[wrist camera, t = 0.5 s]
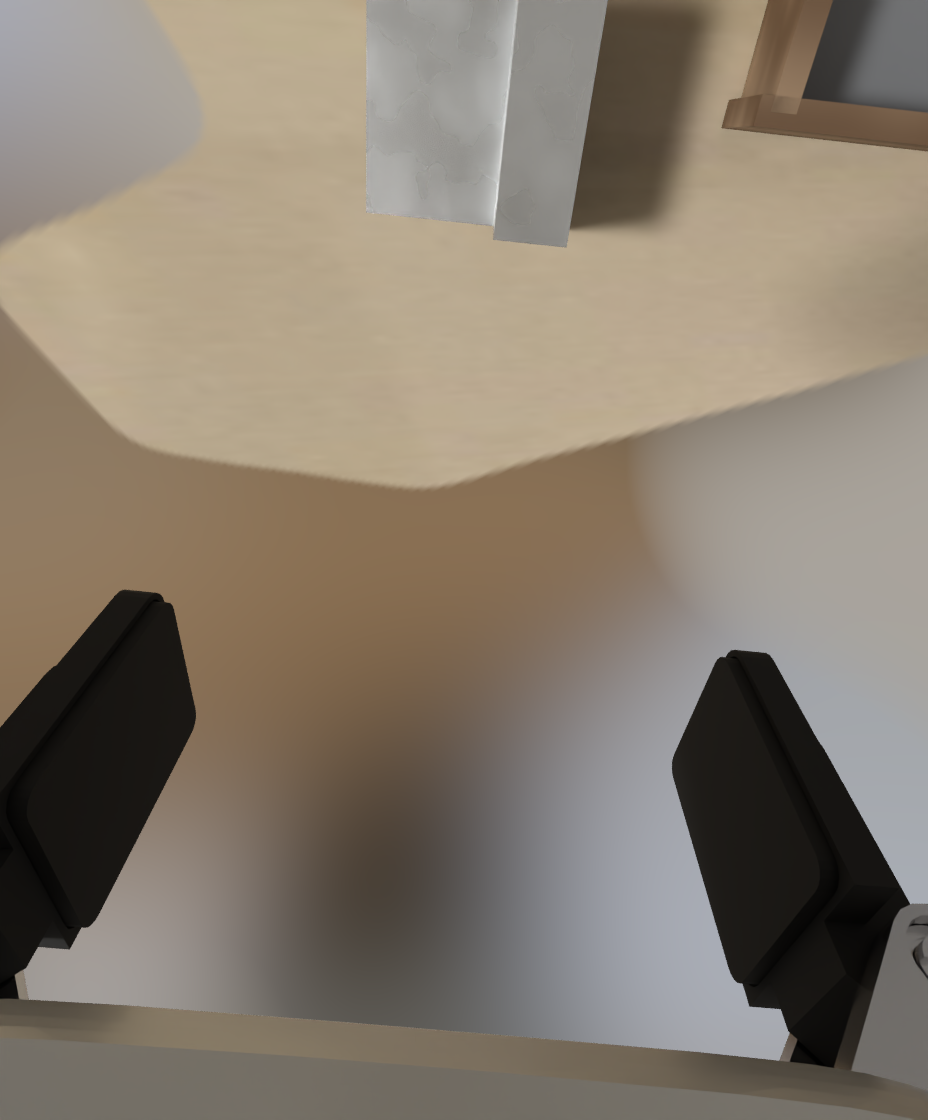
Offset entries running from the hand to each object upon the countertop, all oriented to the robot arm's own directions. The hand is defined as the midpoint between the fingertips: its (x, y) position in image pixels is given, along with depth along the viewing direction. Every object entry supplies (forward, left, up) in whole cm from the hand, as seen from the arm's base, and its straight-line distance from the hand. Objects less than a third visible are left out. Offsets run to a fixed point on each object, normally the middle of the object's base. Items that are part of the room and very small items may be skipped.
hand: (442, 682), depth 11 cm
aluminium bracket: (-9, -1, -26) cm, 28 cm away
